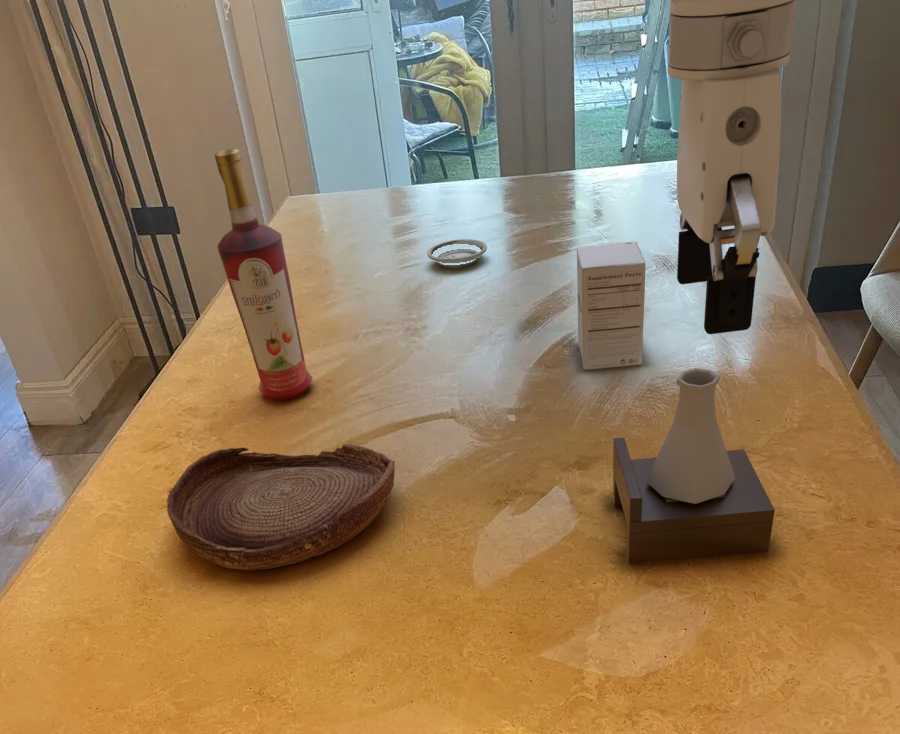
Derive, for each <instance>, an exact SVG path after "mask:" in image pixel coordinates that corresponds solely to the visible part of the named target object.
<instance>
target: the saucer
mask: <svg viewBox="0 0 900 734" xmlns="http://www.w3.org/2000/svg"><path fill="white" fill-rule="evenodd" d="M453 244H469V245H475V246H477V247H479V248H480V249H481V251H480V252H477V251H475V250H471V249H457V250H451V251H447V252H445V253H442V254H440V255H439V256H438V257H434V256H432V254H433V252H434V251H435V250H437V249H438V248H441V247H443V246H447V245H453ZM487 249H488V245H487V244H486V243H485V242H483V241H481V240H478V239H471V238H460V239H459V238H458V239H452V240H447V241H443V242H440V243H438V244H435V245H433V246H431V247H430V248H429V249H428V250H427V253H426V254H427V257H428V258H429V259H430V260H432V261H433V260H435V261H437V262H442V263H460V262H467V261H471V260H474V259H477V258H478V257H480V256H481V255H482V254H483V255H484V253H485V252H487ZM483 255H482V256H483ZM482 256H481V257H482ZM481 257H480V258H481ZM478 260H479V259H477V260H475V261H472V262H469V263H466V264H460V265H442V264H439V265H440V266H443V267H444V268H446V269H453V270H455V269H456V270H457V269H462V268H463V269H464V268H466V267H470V266H471V265H473V264H474V262H476V261H478Z"/></svg>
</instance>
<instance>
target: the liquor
mask: <svg viewBox="0 0 900 734" xmlns="http://www.w3.org/2000/svg"><path fill="white" fill-rule="evenodd" d="M213 156H214V158H215V162H216V167H217V170H218V173H219V176H220V177H221V180H222V182H223V185H224V189H225V194H226V200H227V206H228V212H229V219H230V223H231V230H229V231H228V232H227V233H225V234H224V235H223V237H222V238H221V239H220V241H219V242H218V244H217V251H218V254H219V256H220V260H221V263H222V266H223V269H224V272H225V275H226V279H227V281H228V285H229V288H230V291H231V294H232V297H233V300H234V302H235V303H234V304H235V305H236V309H237V311H238V314H239V316H240V320H241V324H242V326H243V329H244V333H245V335H246V338H247V341H248V345H249V347H250V351H251V354H252V358H253V361H254V364H255V368H256V371H257V374H258V378H259V385H258V391H259V392H260V393H262V394H263V395H264V396H267V397H268V398H271V399H272V400H274V401H288V400H292V399H295V398H298V397H299V396H302V395H303V394H304V393H305V391H306V390H307V389H308V387H309V386H310V384H311V383H312V382H313V376H312V375H311V374H310V372H308V370H307V365H306V359H305V355H304V351H303V350H304V349H303V346H302V342H301V336H300V330H299V325H298V321H297V316H296V310H295V304H294V297H293V293H292V285H291V280H290V274H289V270H288V265H287V264H288V263H287V260H286V259H287V258H286V253H285V249H284V243H283V238H282V234H281V233H280V232H279V231H277V230H276V229H274V228H273V227H270V226H268V225H263V224H260V223H259V220H258V218H257V214H256V211H255V209H254V205H253V202H252V199H251V197H250V193H249V190H248V186H247V184H246V181H245V171H244V170H245V169H244V164H243V161H242V157H241V152H240V150H239V149H237V148H232V149H231V148H230V149H224V150H220V151H217V152H215V153H214V155H213Z"/></svg>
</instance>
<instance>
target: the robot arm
mask: <svg viewBox="0 0 900 734" xmlns="http://www.w3.org/2000/svg"><path fill="white" fill-rule="evenodd" d="M796 6H797V0H669V19H668V21H669V23H668V24H669V26H668V54H667V56H668V58H667V75H668V76H669V77H670V78H673V79H679V80H681V81H682V82H681V92H680V95H679V99H680V104H679V119H678V137H677V153H676V154H677V156H676V157H677V158H676V199H677V205H678V208H679V210H680V216H679V228H680V231H678V241H677V242H678V243H677V245H678V247H677V268H676V280H677V281H678V284H680V285H687V284H697V283H704V282H706V289H705V303H704V321H703V329H704V331H705V333H706V334H708V335H717V334H724V333H725V334H726V333H732V332H741V331H747V330H749V329H750V328H751V326H752V320H753V319H752V318H753V311H754V310H753V309H754V300H755V290H756V281H757V280H756V279H757V274H758V259H759V257H760V251H759V250H760V248H759V247H758V246H759V242H760V240H761V237H767V236H769V235H770V234H771V233H772V231H773V230H774V228H775V223H776V213H777V200H778V185H779V171H780V170H779V169H780V156H781V155H780V154H781V137H782V136H781V134H782V74H781V68H783V67H785V66H788V64H789V63H790V61H791V54H792V45H793V44H792V43H793V33H794V25H795V14H796ZM725 227H733V228H726V229H723V228H725ZM730 244H734V245H733V246H728V248H727V251H726V252H725V255H723V245H730Z"/></svg>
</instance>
